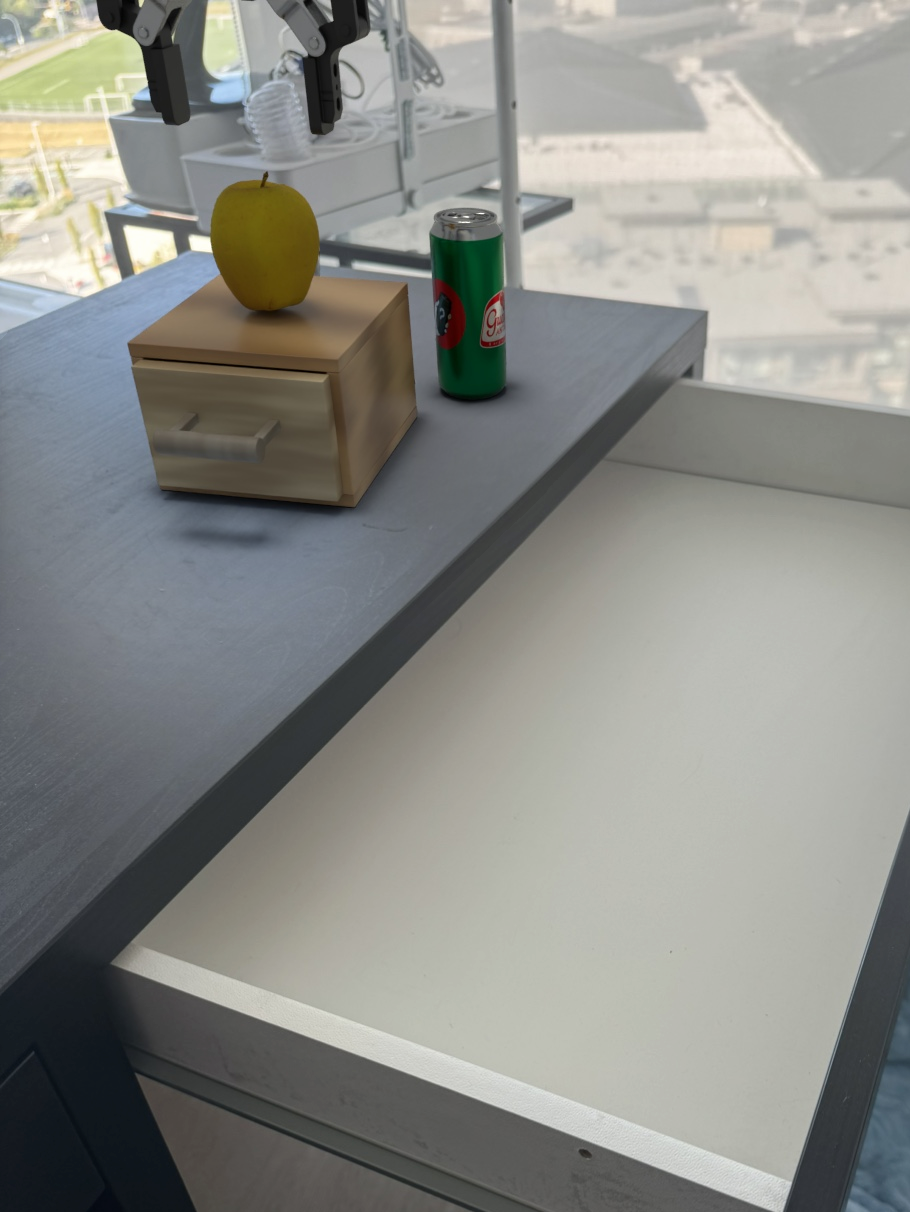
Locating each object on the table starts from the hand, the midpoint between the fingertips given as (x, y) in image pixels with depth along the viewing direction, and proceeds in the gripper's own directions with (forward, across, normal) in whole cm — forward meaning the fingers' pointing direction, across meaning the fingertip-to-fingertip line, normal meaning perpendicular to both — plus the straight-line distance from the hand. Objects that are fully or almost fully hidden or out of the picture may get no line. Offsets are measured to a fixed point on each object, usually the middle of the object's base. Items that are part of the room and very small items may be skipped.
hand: (249, 127), depth 66 cm
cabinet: (+19, 0, 0) cm, 19 cm away
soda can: (+19, -9, -13) cm, 25 cm away
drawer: (+18, 0, +4) cm, 19 cm away
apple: (+10, 0, 0) cm, 10 cm away
